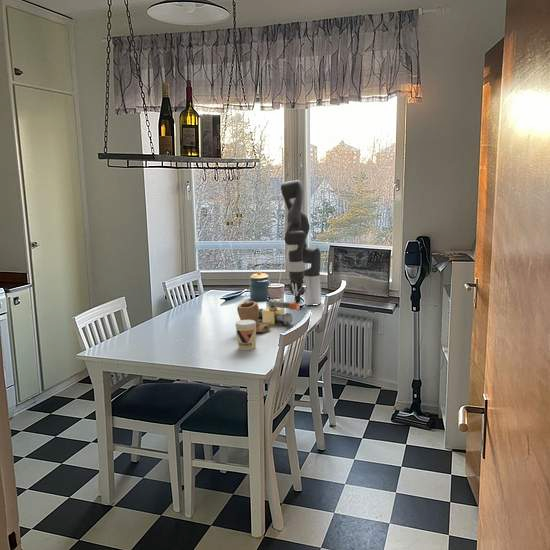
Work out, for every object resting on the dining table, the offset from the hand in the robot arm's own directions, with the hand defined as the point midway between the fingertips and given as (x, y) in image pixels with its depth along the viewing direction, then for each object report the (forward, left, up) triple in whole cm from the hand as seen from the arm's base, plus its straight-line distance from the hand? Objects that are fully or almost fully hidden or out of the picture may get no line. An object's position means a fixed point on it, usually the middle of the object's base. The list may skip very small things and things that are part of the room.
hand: (297, 302), depth 298 cm
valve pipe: (+9, -9, -10) cm, 16 cm away
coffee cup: (+47, +7, -10) cm, 49 cm away
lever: (+8, -3, -1) cm, 9 cm away
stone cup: (+27, -7, -10) cm, 30 cm away
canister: (-28, -51, -10) cm, 60 cm away
